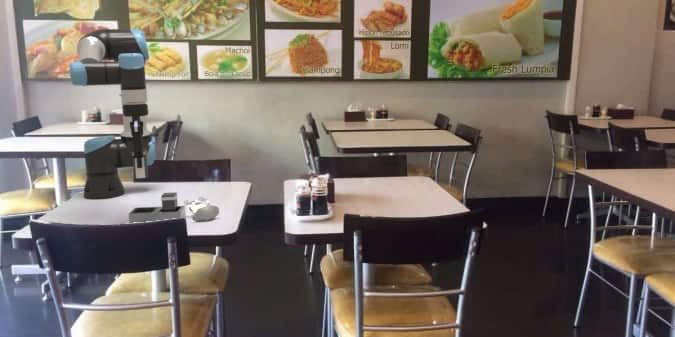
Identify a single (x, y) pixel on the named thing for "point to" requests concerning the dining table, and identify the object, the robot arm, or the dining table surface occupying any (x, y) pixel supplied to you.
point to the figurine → (202, 210)
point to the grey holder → (159, 210)
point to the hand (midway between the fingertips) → (141, 176)
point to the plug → (144, 163)
